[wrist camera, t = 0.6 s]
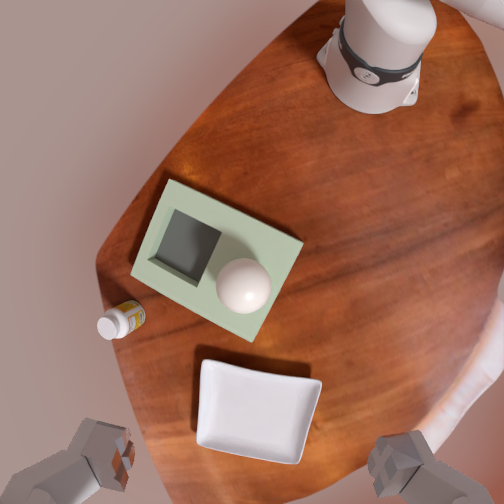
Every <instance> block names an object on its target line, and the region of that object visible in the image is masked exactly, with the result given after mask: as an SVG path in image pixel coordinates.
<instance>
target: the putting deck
mask: <svg viewBox="0 0 504 504" xmlns="http://www.w3.org/2000/svg"><path fill="white" fill-rule="evenodd" d="M174 210H175V211H174ZM172 215H173V216H172ZM171 217H172V218H171ZM169 222H170V223H169ZM168 224H169V225H168ZM166 229H167V230H166ZM165 231H166V232H165ZM164 234H165V235H164ZM163 236H164V237H163ZM161 241H162V242H161ZM303 244H304V242H302V241H300V240H298V239H296V238H294V237H292V236H290V235H288V234H286V233H284V232H282V231H280V230H278V229H276V228H274V227H272V226H270V225H268V224H266V223H264V222H262V221H260V220H258V219H256V218H254V217H252V216H250V215H247V214H245V213H243V212H241V211H239V210H237V209H235V208H233V207H231V206H229V205H227V204H225V203H223V202H220V201H218V200H216V199H214V198H212V197H210V196H208V195H206V194H204V193H201V192H199V191H197V190H195V189H193V188H191V187H189V186H186V185H184V184H182V183H180V182H178V181H175V180H172V179H169V180H168V183H167V185H166V187H165V189H164V192H163V194H162V196H161V198H160V201H159V203H158V206H157V208H156V210H155V213H154V215H153V217H152V220H151V222H150V225H149V227H148V230H147V232H146V235H145V237H144V240H143V242H142V245H141V248H140V250H139V253H138V255H137V258H136V261H135V264H134V266H133V269H132V272H131V274H130V275H132V276H133V277H135V278H136V279H138V280H140V281H141V282H143V283H145V284H146V285H148V286H150V287H151V288H153V289H155V290H157V291H158V292H160V293H162V294H163V295H165V296H167V297H169V298H170V299H172V300H174V301H176V302H177V303H179V304H181V305H183V306H184V307H186V308H188V309H190V310H192V311H193V312H195V313H197V314H199V315H201V316H202V317H204V318H206V319H208V320H210V321H212V322H213V323H215V324H217V325H219V326H221V327H223V328H225V329H227V330H229V331H230V332H232V333H234V334H236V335H238V336H240V337H242V338H244V339H246V340H248V341H250V342H253V340H254V338H255V336H256V334H257V333H258V331H259V329H260V327H261V325H262V323H263V321H264V319H265V318H266V316H267V314H268V312H269V310H270V308H271V306H272V304H273V302H274V300H275V299H276V297H277V295H278V293H279V291H280V289H281V287H282V285H283V283H284V281H285V279H286V277H287V275H288V273H289V271H290V269H291V267H292V265H293V263H294V262H295V260H296V258H297V256H298V254H299V252H300V250H301V248H302V246H303ZM159 246H160V247H159ZM158 248H159V249H158ZM157 251H158V252H157ZM156 253H157V254H156ZM155 256H156V257H155ZM156 258H157V259H156ZM239 258H248V259H252V260H255V261H257V262H258V263H260V264H261V265H262V266H263V267H264V268H265V269H266V270H267V272H268V274H269V276H270V279H271V293H270V296H269V299H268V300H267V302H266V303H265V304H264V305H263V306H262V307H261V308H260V309H258V310H257V311H255V312H252V313H248V314H240V313H236V312H233V311H231V310H229V309H227V308H226V307H225V306H224V305H223V304H222V303H221V302H220V300H219V298H218V296H217V292H216V279H217V276H218V274H219V272H220V270H221V269H222V268H223V267H224V266H225V265H226V264H227V263H229V262H230V261H232V260H235V259H239ZM159 260H160V261H159ZM161 261H162V262H161ZM163 262H164V263H163ZM166 264H167V265H166ZM168 265H169V266H168ZM170 266H171V267H170ZM172 267H173V268H172ZM175 269H176V270H175ZM177 270H178V271H177ZM179 271H180V272H179ZM181 272H182V273H181ZM186 275H187V276H186ZM188 276H189V277H188ZM190 277H191V278H190ZM192 278H193V279H192ZM197 281H198V282H197Z"/></svg>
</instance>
